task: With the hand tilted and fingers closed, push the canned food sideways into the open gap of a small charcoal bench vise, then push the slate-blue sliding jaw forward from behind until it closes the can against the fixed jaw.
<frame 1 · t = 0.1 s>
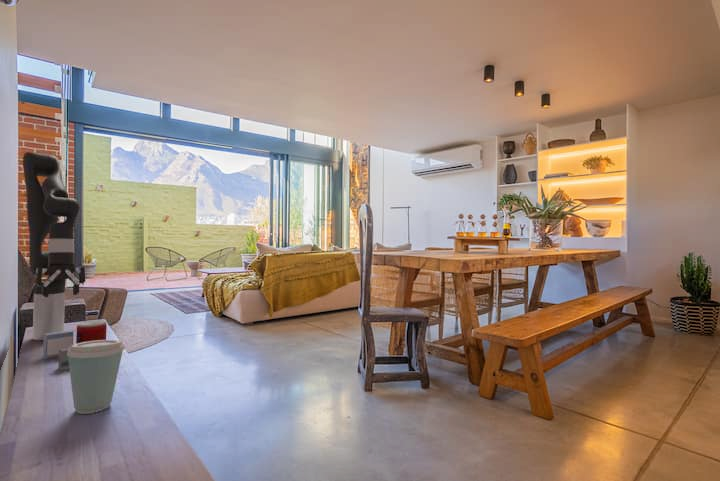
hand: (60, 296, 136), 17 cm above the table, tool pointing down, fingers open, 8 cm apart
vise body: (74, 365, 112), on the table
canned food: (91, 356, 122), on the table
sliding jaw: (55, 342, 123), point 4 cm above the table, slide at 0.0 cm
disposable coffee cup: (95, 408, 84), on the table
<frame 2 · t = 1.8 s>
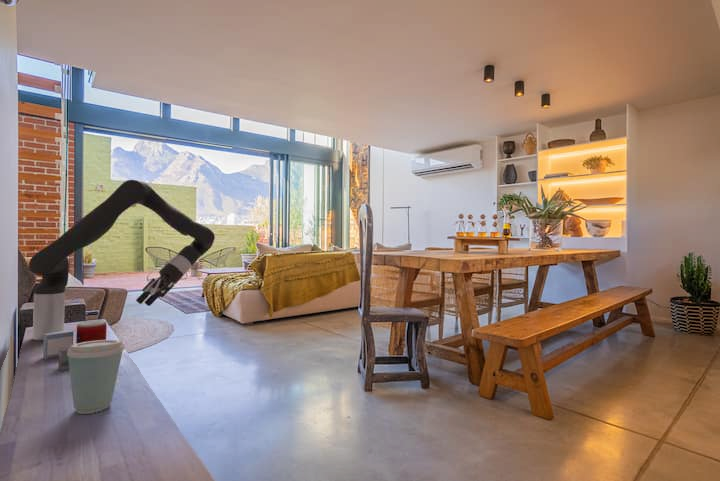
hand: (142, 303, 134), 16 cm above the table, tool tilted 45°, fingers open, 6 cm apart
nothing on the table moved.
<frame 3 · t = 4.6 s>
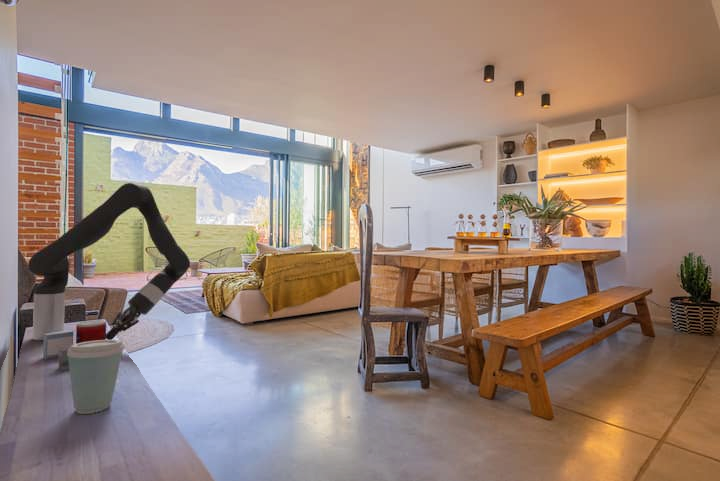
hand: (107, 338, 125), 5 cm above the table, tool tilted 45°, fingers closed
canned food: (90, 356, 122), on the table, touching gripper
everything else where it was.
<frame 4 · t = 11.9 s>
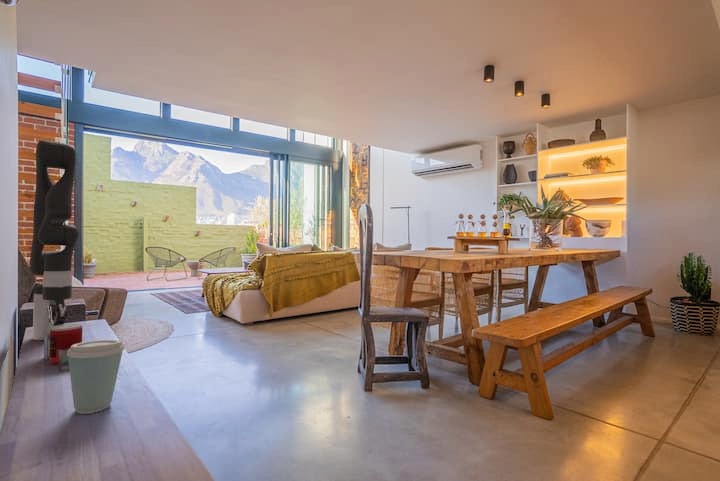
hand: (56, 337, 123), 6 cm above the table, tool pointing down, fingers closed
canned food: (65, 362, 116), on the table
sliding jaw: (56, 343, 123), point 4 cm above the table, slide at 0.8 cm, touching gripper
everything else where it was.
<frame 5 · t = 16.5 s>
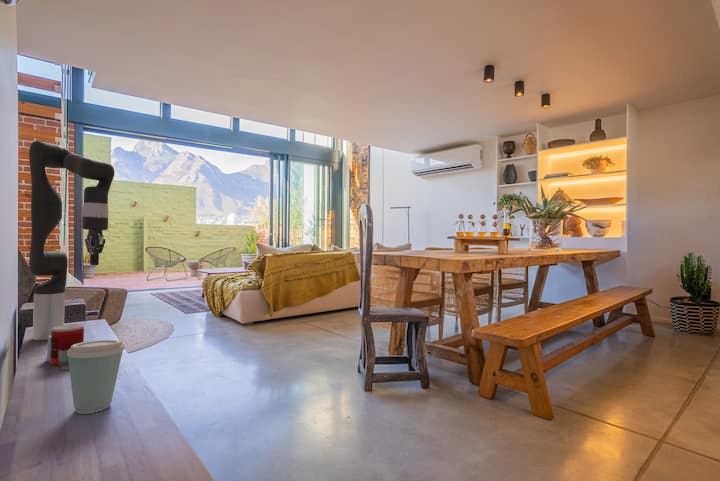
hand: (94, 265, 133), 29 cm above the table, tool pointing down, fingers closed
canned food: (67, 363, 115), on the table
sliding jaw: (60, 345, 121), point 4 cm above the table, slide at 4.5 cm
everything else where it was.
at the end: canned food inside the target area (0.3 cm from its centre), on the table; sliding jaw slide at 4.5 cm; canned food tilted 0° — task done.
